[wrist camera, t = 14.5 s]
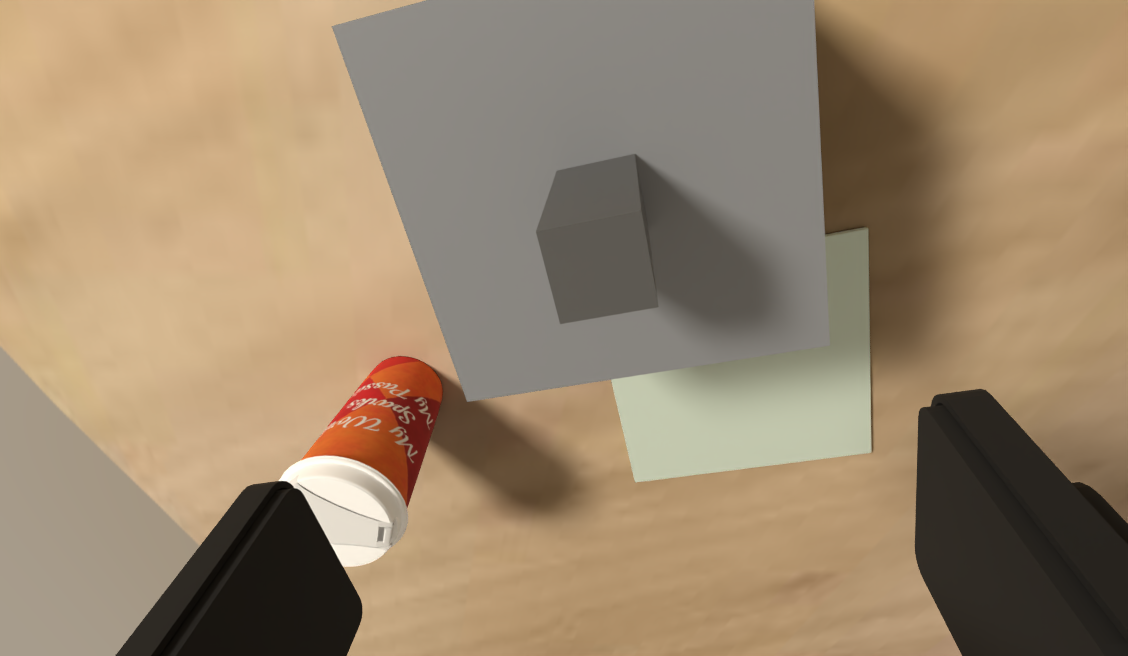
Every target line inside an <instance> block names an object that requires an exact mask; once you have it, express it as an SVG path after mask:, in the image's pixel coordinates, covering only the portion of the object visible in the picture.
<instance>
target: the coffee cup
mask: <svg viewBox="0 0 1128 656" xmlns="http://www.w3.org/2000/svg"><path fill="white" fill-rule="evenodd" d="M442 395H443V389H442V384H441V381H440V379H439V377H438V375H437V374H436V373H435V372H434V370H433V369H432V368H431V367H429V366H428V365H427V364H425V363H424V362H422V361H420V360H417V359H415V358H411V357H405V356H398V357H392V358H389V359H386V360H384V361H382V362H381V363H380V364H379V365H377V366H376V368H375V369H374V370H373V371H372V372H371V373H370V374H369V375H368V377H367V378H366V379H365V380H364V381H363V383H362V384H361V385H360V386H359V388H358V389H357V390H356V391H355V393H354V394H353V395H352V396H351V398H350V399H349V400H348V401H347V403H346V404H345V405H344V406H343V408H342V409H341V410H340V412H339V413H338V414H337V415H336V417H335V418H334V419H333V420H332V422H331V423H330V424H329V425H328V427H327V428H326V429H325V431H324V432H323V433H322V434H321V436H320V437H319V438H318V439H317V441H316V442H315V443H314V445H313V446H312V447H311V448H310V450H309V451H308V452H307V453H306V455H305V456H304V457H303V458H302V460H301V461H299V462H297V463H295V464H294V465H292V466H290V467H289V468H288V469H287V470H286V471H285V472H284V474H283V475H282V477H281V478H280V480H279V481H287V482H289V483H290V484H292V486H293V487H294V488H296V489H299V490H300V491H301V492H302V493H303V494H304V496H305V498H306V500H307V501H308V503H309V505H310V507H311V509H312V511H313V513H314V514H315V516H316V518H317V520H318V522H319V524H320V525H321V527H322V529H323V531H324V533H325V535H326V536H327V538H328V540H329V542H330V544H331V546H332V548H333V549H334V551H335V553H336V555H337V557H338V559H339V560H340V562H341V564H342V566H346V567H350V566H360V565H365V564H368V563H371V562H373V561H375V560H377V559H378V558H380V557H381V556H382V555H384V554H385V553H386V552H387V551H388V549H389V548H391V547H392V546H394V545H395V544H396V543H397V542H398V541H399V540H400V539H401V538H402V536H403V534H404V532H405V530H406V527H407V523H408V512H407V507H408V504H409V501H410V498H411V495H412V492H413V489H414V486H415V483H416V480H417V477H418V474H419V471H420V468H421V465H422V462H423V459H424V456H425V453H426V449H427V446H428V443H429V440H430V437H431V434H432V431H433V428H434V425H435V421H436V418H437V415H438V412H439V408H440V405H441V401H442Z"/></svg>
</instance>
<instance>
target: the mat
mask: <svg viewBox="0 0 1128 656" xmlns="http://www.w3.org/2000/svg"><path fill="white" fill-rule="evenodd" d="M825 249H826V271H827V293H828V314H829V336H830V346H825V347H818V348H812V349H805V350H799V351H792V352H786V353H779V354H773V355H766V356H760V357H754V358H747V359H741V360H734V361H728V362H721V363H715V364H708V365H702V366H695V367H689V368H683V369H676V370H670V371H663V372H657V373H650V374H644V375H637V376H631V377H624V378H618V379H612V380H611V381H612V386H613V390H614V394H615V398H616V403H617V407H618V411H619V416H620V420H621V424H622V429H623V433H624V437H625V441H626V446H627V450H628V454H629V459H630V463H631V467H632V471H633V476H634V480H635V482H643V481H651V480H659V479H667V478H675V477H682V476H690V475H698V474H706V473H714V472H722V471H730V470H738V469H746V468H754V467H762V466H770V465H778V464H786V463H794V462H802V461H809V460H817V459H825V458H833V457H841V456H849V455H857V454H865V453H871V389H870V315H869V242H868V228H867V227H863V228H858V229H853V230H847V231H842V232H836V233H831V234H825Z"/></svg>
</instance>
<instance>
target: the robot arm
mask: <svg viewBox="0 0 1128 656" xmlns="http://www.w3.org/2000/svg"><path fill="white" fill-rule="evenodd" d="M915 554H916V560H917V564H918V567H919V570H920V573H921V575H922V577H923V579H924V581H925V583H926V585H927V587H928V589H929V591H930V593H931V595H932V597H933V599H934V601H935V603H936V605H937V607H938V609H939V611H940V613H941V615H942V617H943V619H944V621H945V623H946V625H947V627H948V629H949V631H950V632H951V634H952V636H953V638H954V640H955V642H956V644H957V646H958V648H959V650H960V652H961V654H962V656H1128V524H1127V523H1126V522H1125V521H1124V520H1123V518H1122V517H1121V516H1120V515H1119V514H1118V513H1117V512H1116V511H1115V510H1114V509H1113V508H1112V507H1111V506H1110V505H1109V504H1108V503H1107V502H1106V500H1105V499H1104V498H1103V497H1102V496H1101V495H1099V494H1098V493H1097V492H1096V491H1095V490H1094V489H1092V488H1091V487H1090V486H1088V485H1085V484H1083V483H1080V482H1076V483H1071V482H1070V481H1069V480H1068V479H1067V478H1066V477H1065V475H1064V474H1063V473H1062V472H1061V471H1060V470H1059V469H1058V468H1057V467H1056V466H1055V464H1054V463H1053V462H1052V461H1051V460H1050V459H1049V458H1048V457H1047V456H1046V455H1045V453H1044V452H1043V451H1042V450H1041V449H1040V448H1039V447H1038V446H1037V445H1036V444H1035V443H1034V441H1033V440H1032V439H1031V438H1030V437H1029V436H1028V435H1027V434H1026V433H1025V432H1024V430H1023V429H1022V428H1021V427H1020V426H1019V425H1018V424H1017V423H1016V422H1015V421H1014V419H1013V418H1012V417H1011V416H1010V415H1009V414H1008V413H1007V412H1006V411H1005V410H1004V408H1003V407H1002V406H1001V405H1000V404H999V403H998V402H997V401H996V400H995V399H994V397H993V396H992V395H991V394H990V393H988V392H987V391H986V390H983V389H976V390H969V391H961V392H954V393H946V394H938V395H936V396H934V398H933V400H932V404H931V407H923V408H921V409H920V411H919V416H918V451H917V489H916V526H915ZM361 618H362V603H361V600H360V597H359V595H358V594H357V592H356V590H355V588H354V586H353V584H352V582H351V581H350V579H349V577H348V575H347V573H346V571H345V570H344V568H343V566H342V564H341V562H340V560H339V559H338V557H337V555H336V553H335V551H334V549H333V548H332V546H331V544H330V542H329V540H328V538H327V536H326V535H325V533H324V531H323V529H322V527H321V525H320V524H319V522H318V520H317V518H316V516H315V514H314V513H313V511H312V509H311V507H310V505H309V503H308V501H307V500H306V498H305V496H304V494H303V493H302V492H301V491H300V490H299V489H296V488H294V487H293V486H292V484H290V483H289V482H287V481H276V482H268V483H261V484H253V485H250V486H248V487H246V488H245V489H244V490H243V491H242V492H241V494H240V495H239V496H238V498H237V499H236V500H235V502H234V503H233V504H232V505H231V507H230V508H229V509H228V511H227V512H226V513H225V514H224V516H223V517H222V518H221V520H220V521H219V522H218V524H217V525H216V526H215V527H214V529H213V530H212V531H211V533H210V534H209V535H208V536H207V538H206V539H205V540H204V542H203V543H202V544H201V546H200V547H199V548H198V549H197V551H196V552H195V553H194V555H193V556H192V557H191V558H190V560H189V561H188V562H187V564H186V565H185V566H184V568H183V569H182V570H181V571H180V573H179V574H178V576H177V577H176V578H175V579H174V581H173V582H172V583H171V585H170V586H169V587H168V588H167V590H166V591H165V592H164V594H163V595H162V596H161V597H160V599H159V600H158V601H157V603H156V604H155V605H154V606H153V608H152V609H151V610H150V612H149V613H148V614H147V615H146V617H145V618H144V619H143V621H142V622H141V623H140V625H139V626H138V627H137V628H136V630H135V631H134V633H133V634H132V635H131V636H130V637H129V639H128V640H127V641H126V643H125V644H124V645H123V647H122V648H121V649H120V651H119V652H118V653H117V654H116V656H347V653H348V651H349V649H350V646H351V644H352V642H353V639H354V637H355V634H356V632H357V630H358V627H359V625H360V622H361Z"/></svg>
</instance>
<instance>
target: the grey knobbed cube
mask: <svg viewBox="0 0 1128 656" xmlns="http://www.w3.org/2000/svg"><path fill="white" fill-rule="evenodd" d="M332 28H333V31H334V34H335V37H336V39H337V42H338V45H339V48H340V51H341V53H342V56H343V59H344V62H345V64H346V67H347V70H348V73H349V75H350V78H351V81H352V84H353V87H354V89H355V92H356V95H357V98H358V100H359V103H360V106H361V109H362V112H363V114H364V117H365V120H366V123H367V125H368V128H369V131H370V134H371V136H372V139H373V142H374V145H375V148H376V150H377V153H378V156H379V159H380V161H381V164H382V167H383V170H384V173H385V175H386V178H387V181H388V184H389V186H390V189H391V192H392V195H393V197H394V200H395V203H396V206H397V209H398V211H399V214H400V217H401V220H402V222H403V225H404V228H405V231H406V233H407V236H408V239H409V242H410V245H411V247H412V250H413V253H414V256H415V258H416V261H417V264H418V267H419V270H420V272H421V275H422V278H423V281H424V283H425V286H426V289H427V292H428V294H429V297H430V300H431V303H432V306H433V308H434V311H435V314H436V317H437V319H438V322H439V325H440V328H441V331H442V333H443V336H444V339H445V342H446V344H447V347H448V350H449V353H450V355H451V358H452V361H453V364H454V367H455V369H456V372H457V375H458V378H459V380H460V383H461V386H462V389H463V391H464V394H465V397H466V400H467V402H470V401H476V400H482V399H489V398H495V397H502V396H508V395H515V394H521V393H528V392H534V391H541V390H547V389H553V388H560V387H566V386H573V385H579V384H586V383H592V382H599V381H605V380H612V379H618V378H624V377H631V376H637V375H644V374H650V373H657V372H663V371H670V370H676V369H683V368H689V367H695V366H702V365H708V364H715V363H721V362H728V361H734V360H741V359H747V358H754V357H760V356H766V355H773V354H779V353H786V352H792V351H799V350H805V349H812V348H818V347H825V346H830V336H829V314H828V293H827V271H826V249H825V227H824V206H823V184H822V162H821V140H820V119H819V97H818V75H817V53H816V32H815V10H814V0H426V1H422V2H419V3H415V4H412V5H408V6H404V7H401V8H397V9H393V10H390V11H386V12H382V13H379V14H375V15H371V16H368V17H364V18H360V19H357V20H353V21H349V22H346V23H342V24H338V25H335V26H332Z"/></svg>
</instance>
